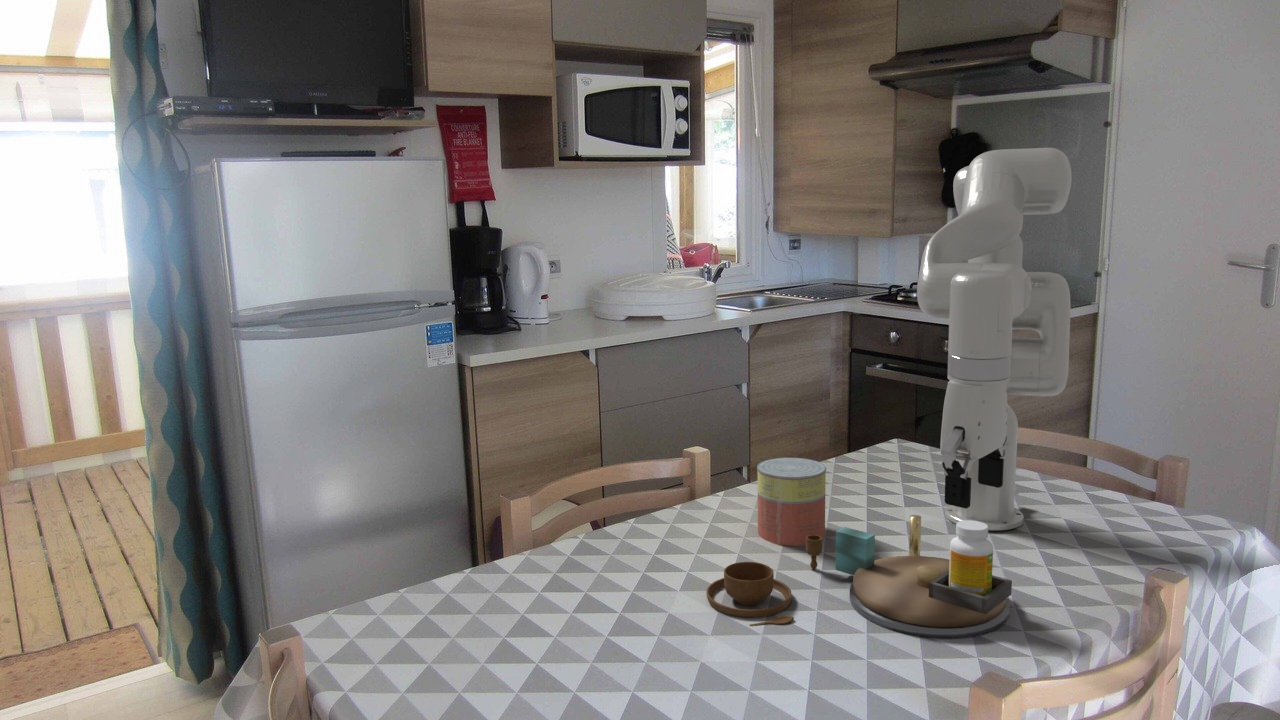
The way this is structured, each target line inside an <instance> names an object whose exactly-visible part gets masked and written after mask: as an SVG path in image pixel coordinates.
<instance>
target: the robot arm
mask: <svg viewBox="0 0 1280 720" xmlns="http://www.w3.org/2000/svg"><path fill="white" fill-rule="evenodd" d="M952 182H953V185H952V187H953V190H952V191H953V199H954V205H955V207H956V209H955V210H956V211H957V215H958V216H956V217H955V218H953V219H951V220H950V221H949V222H947V223H946V224H945V225H943V226H942V227H941V228H940V229H938V231H936V232H935V233H934V234H933V235H932V236H931V237H930V239H929V240H928V242H927V244H925V247H924V250H923V252H922V256H921V261H920V267H919V273H918V278H917V283H916V284H917V287H916V297H917V299H916V300H917V304H918V306H919V309H920V310H921V312H922V313H923V314H924V315H926V316H928V317H930V318H933V319H948V347H947V348H948V352H947V379H948V380H949V381H948V382H947V386H946V389H945V390H946V391H945V396H944V402H943V409H942V420H941V430H940V455H941V458H942V462H941V465H942V468H943V475H944V476H945V478H944V503H945V504H946V505H947V506H946V507H945V513H944V514H945V517H946V518H947V520H949V521H950V522H951V523H953V524H955V525H956V524H957V522H959V521H964V520H973V521H979V522H982V523H985V524H986V525H987V526H988V531H991V532H992V531H993V532H994V531H1007V530H1013V529H1016V528H1019V527H1021V526H1022V525H1023V524H1024V519H1025V518H1024V514H1023V513H1022V512H1021V511H1020V510H1019V509H1017V508H1015V498H1016V497H1017V496H1019V494H1020V490H1019V488H1018V487H1017V486H1016V474H1017V473H1016V472H1017V452H1018V431H1019V428H1018V427H1019V424H1018V423H1019V422H1018V418H1017V415H1016V413H1015V412H1014V410H1013V408H1012V407H1011V406H1010V405H1009V404H1008V396H1011V395H1012V396H1013V395H1015V396H1029V397H1030V396H1031V397H1032V396H1033V397H1054V396H1058V395H1060V394H1061V393H1062V392H1063V391H1064V390H1065V388H1066V387H1067V382H1068V378H1069V364H1070V335H1071V307H1072V306H1071V292H1070V286H1069V284H1068V282H1067V280H1066V278H1065V277H1064V276H1063V275H1061V274H1060V273H1056V272H1049V271H1026V270H1025V269H1024V268H1023V254H1024V253H1023V252H1024V243H1023V240H1022V238H1021V236H1020V234H1021V232H1022V230H1023V224H1024V215H1025V216H1027V215H1029V216H1030V215H1033V216H1034V215H1056V214H1058V213H1060V212H1061V211H1062V210H1063V209H1064V208H1065V207H1066V204H1067V202H1068V199H1069V195H1070V191H1071V187H1072V167H1071V164H1070V161H1069V158H1068V157H1067V155H1066V154H1065V153H1064V152H1063V151H1062V150H1060V149H1059V148H1056V147H1055V148H1054V147H1036V148H1034V147H1033V148H1007V149H1005V148H1004V149H994V150H989V151H988V150H987V151H984V152H983V153H981V154H979V155H977V156H976V157H975V158H973V160H971V162H970V164H969V165H967V166H964V167H963V168H961V169H959V170H958V171H957V172H956V174H955V176H954V177H953V181H952ZM965 261H968V262H965ZM1013 330H1029V331H1030V330H1031V331H1034V332H1036V333H1037V334H1039V336H1040V337H1019V336H1017V337H1013Z"/></svg>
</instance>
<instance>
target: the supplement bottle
mask: <svg viewBox="0 0 1280 720" xmlns="http://www.w3.org/2000/svg"><path fill="white" fill-rule="evenodd" d="M955 535H956V536H955V537H953V538H952V539H951V540H950V544H949V545H950V546H949V560H950V561H949V587H952V588H956V589H959V590H963V591H966V592H970V593H973V594H977V595H980V596H983V597H984V596H985V595H987V594H988V593H990V592H991V591H992V575H993V564H994V563H993V560H994V546H993V544H992V542H991V541H990V540H989V539H987V538H988V536H989V530H988V526H987V525H986V524H985V523H982V522H979V521H973V520H964V521H959V522H957V524H956V523H955Z"/></svg>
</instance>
